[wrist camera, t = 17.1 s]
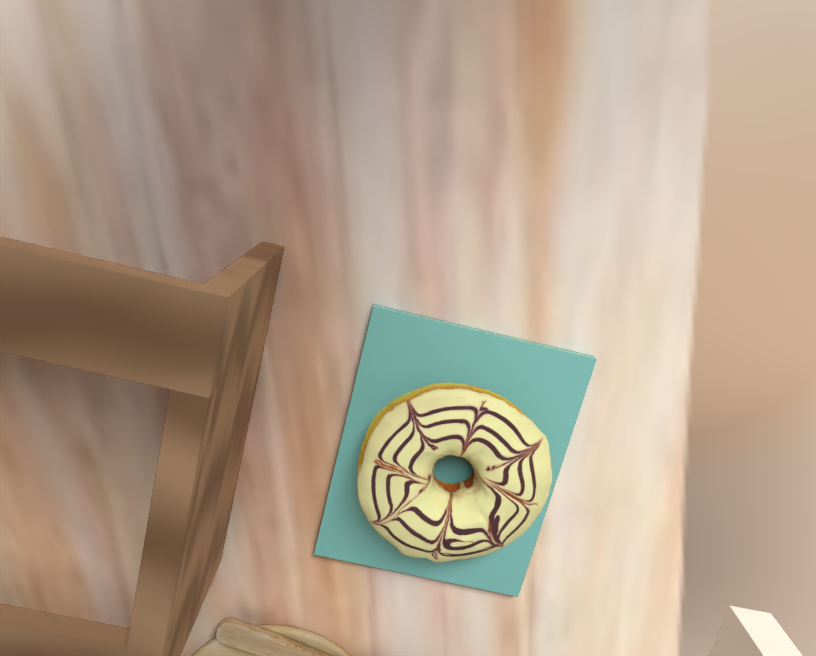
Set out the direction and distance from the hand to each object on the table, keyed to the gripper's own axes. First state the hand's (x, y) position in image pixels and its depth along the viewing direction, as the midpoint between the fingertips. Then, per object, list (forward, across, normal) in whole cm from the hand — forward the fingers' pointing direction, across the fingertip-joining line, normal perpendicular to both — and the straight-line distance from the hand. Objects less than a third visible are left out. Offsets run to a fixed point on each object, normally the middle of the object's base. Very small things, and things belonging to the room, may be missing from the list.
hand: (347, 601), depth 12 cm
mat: (+27, +6, -10) cm, 30 cm away
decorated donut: (+27, +6, -10) cm, 29 cm away
